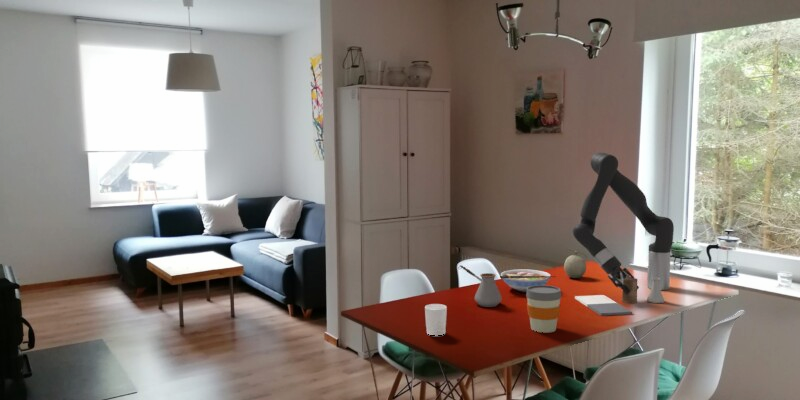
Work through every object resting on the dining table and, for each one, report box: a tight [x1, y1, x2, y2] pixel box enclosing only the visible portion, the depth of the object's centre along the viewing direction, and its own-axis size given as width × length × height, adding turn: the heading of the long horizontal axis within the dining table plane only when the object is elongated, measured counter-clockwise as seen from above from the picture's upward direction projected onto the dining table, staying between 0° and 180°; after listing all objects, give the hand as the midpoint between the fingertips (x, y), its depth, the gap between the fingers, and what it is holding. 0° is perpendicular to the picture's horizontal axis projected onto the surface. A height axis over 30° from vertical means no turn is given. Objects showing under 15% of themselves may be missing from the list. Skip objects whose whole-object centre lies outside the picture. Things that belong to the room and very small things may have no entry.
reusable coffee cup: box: [525, 284, 562, 334], centre depth 222 cm, size 13×13×15 cm
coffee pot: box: [459, 265, 503, 308], centre depth 259 cm, size 21×12×15 cm, turn 44°
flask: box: [646, 278, 665, 304], centre depth 256 cm, size 7×7×10 cm
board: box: [574, 294, 633, 317], centre depth 251 cm, size 26×13×1 cm, turn 6°
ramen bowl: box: [499, 268, 556, 293], centre depth 279 cm, size 25×23×8 cm
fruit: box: [563, 246, 588, 279], centre depth 301 cm, size 10×12×15 cm
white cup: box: [424, 303, 448, 337], centre depth 219 cm, size 8×8×10 cm
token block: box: [622, 277, 638, 305], centre depth 256 cm, size 4×4×10 cm
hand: (633, 291), depth 255 cm, fingers open, 8 cm apart
